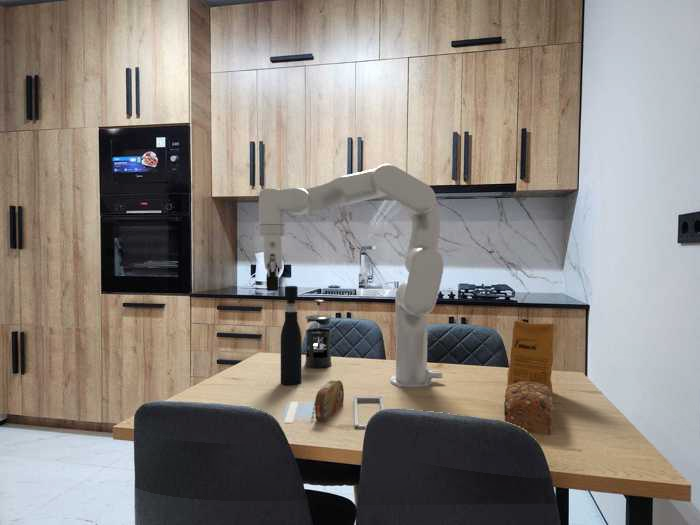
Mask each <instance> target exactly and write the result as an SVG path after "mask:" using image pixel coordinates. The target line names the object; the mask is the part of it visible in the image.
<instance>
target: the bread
mask: <svg viewBox="0 0 700 525" xmlns="http://www.w3.org/2000/svg"><path fill="white" fill-rule="evenodd" d="M503 405H504V406H503V407H504V410H503V411H504V412H503V413H504V421H506V422H509V423H512V424H515V425H517V426H520V427H521V428H524V429H525V430H527V431H528V432H527V433H532V434H534V433H535V434H541V435H550V436H551V435H552V429H553V420H554V417H553V415H554V414H553V412H554V408H553V406H554V405H553V397H551V390H550V388H549V387H548V386H546V385H544V384H539V383H535V382H529V381H518V382H517V383H514V384H512V385H509V386H508V388H506V390H505V394H504V403H503Z"/></svg>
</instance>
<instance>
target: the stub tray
mask: <svg viewBox="0 0 700 525" xmlns="http://www.w3.org/2000/svg"><path fill="white" fill-rule="evenodd" d="M358 403H379V409H380V411H381V410H382V409H385V405H384V399H383V397H382V396H354V397H353V410H354V411H353V412H354V413H353V414H354V415H353V416H354V429H355V430H357V429H358V430H359V429H360V430H364V429H365V427H366V425H367V424H359V415H358V414H359V413H358V411H359V410H358Z"/></svg>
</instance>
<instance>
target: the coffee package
mask: <svg viewBox="0 0 700 525" xmlns="http://www.w3.org/2000/svg"><path fill="white" fill-rule="evenodd" d="M513 322H514V323H513V328H512V340H511V341H512V343H511V348H510V359H509V367H508V371H507V379H506V380H507V384H506V386H507V388H508V386H509V385H512V384H514V383H517V382H518V381H529V382H535V383H539V384H544V385H546V386H548V387H549V388H550V390H551V397H552V398H553V397H554V392H553V385H552V380H551V378H552V373H553V372H552V367H553V361H554V346H553V345H554V332H555V324H554V323H553V322H550V323H549V322H548V323H547V322H546V323H531V322H526V321H521V320H517V319H514V321H513ZM507 388H506V389H507Z"/></svg>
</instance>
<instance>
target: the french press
mask: <svg viewBox="0 0 700 525" xmlns="http://www.w3.org/2000/svg"><path fill="white" fill-rule="evenodd" d="M312 302H315V303H316V304H317V314H312V315H306V317H305V319H306V323H307V324H308V323H311V322H316V323H317V328H315V327H314V328H308V329H306V330H305V335H306V353H305V362H304V365H305V366H306V367H308V368H314V369H315V368H317V369H318V368H319V369H320V368H328V367H331V365H332V354H331V335H332V330H331V328H323V327H321V328H320V325H321V326H326V325H330V323H331V319H332V316H331V315H327V314H326V315H325V314H320V306H321V303H323V302H325V300H324V299H319V298H317V299H313V300H312ZM314 338H317V343H314V342H315V341H314V340H315V339H314ZM320 338H322V343H320Z"/></svg>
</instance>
